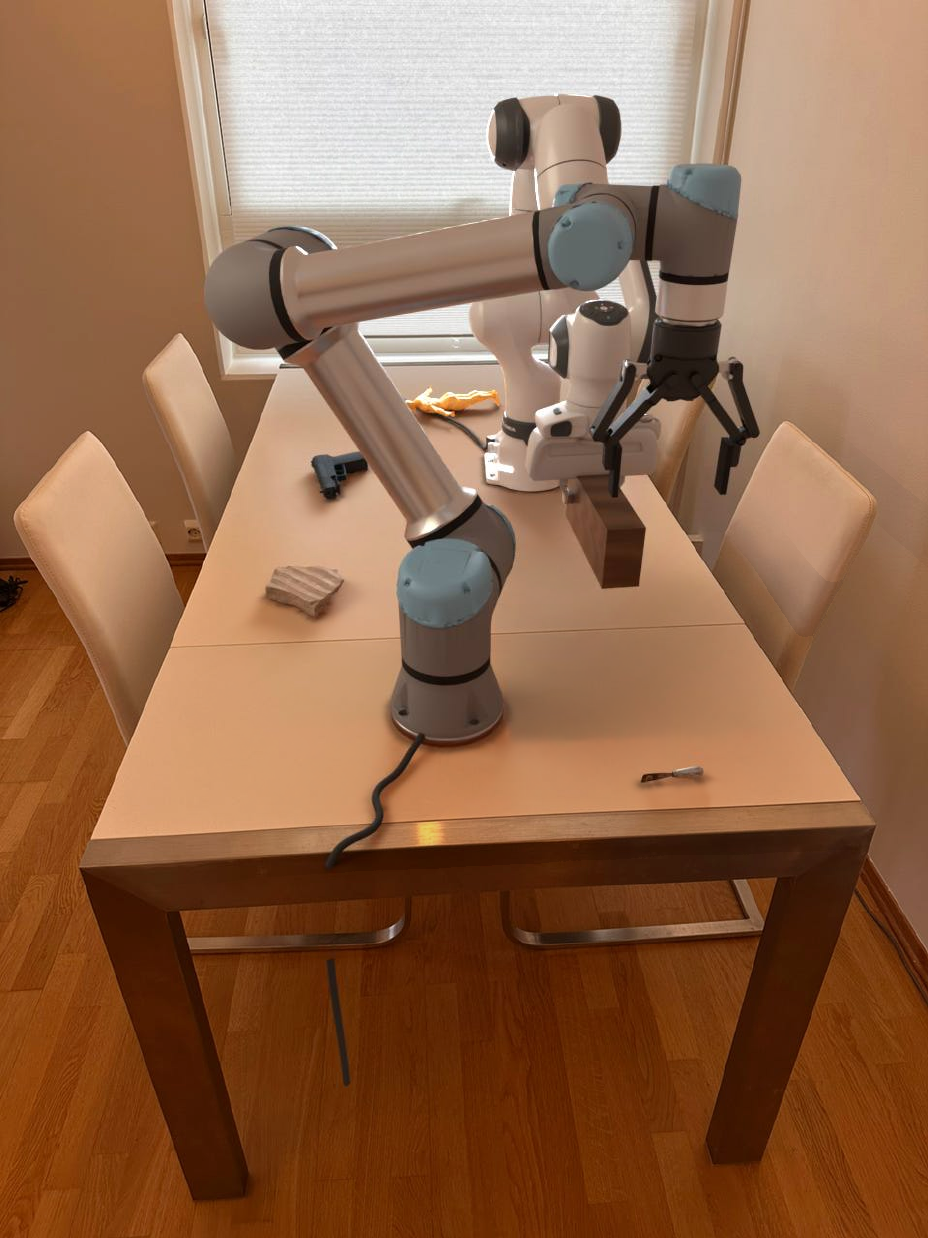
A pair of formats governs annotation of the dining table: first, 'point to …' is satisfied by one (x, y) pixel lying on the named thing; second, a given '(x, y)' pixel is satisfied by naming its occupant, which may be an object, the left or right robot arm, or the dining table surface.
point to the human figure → (449, 401)
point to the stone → (304, 587)
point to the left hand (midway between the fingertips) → (666, 492)
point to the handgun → (336, 470)
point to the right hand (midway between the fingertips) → (588, 501)
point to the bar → (606, 531)
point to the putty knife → (674, 774)
